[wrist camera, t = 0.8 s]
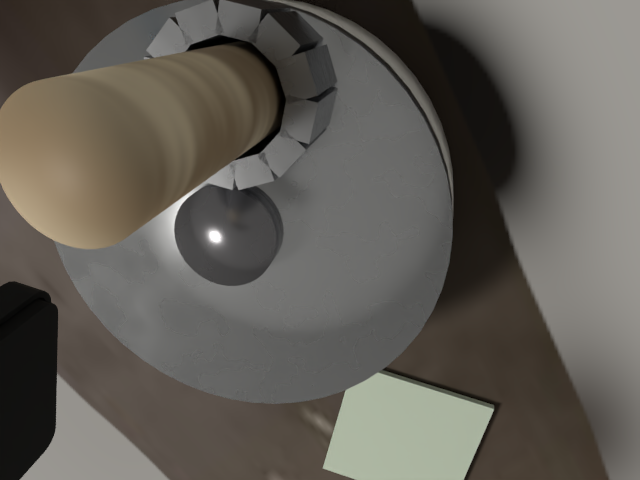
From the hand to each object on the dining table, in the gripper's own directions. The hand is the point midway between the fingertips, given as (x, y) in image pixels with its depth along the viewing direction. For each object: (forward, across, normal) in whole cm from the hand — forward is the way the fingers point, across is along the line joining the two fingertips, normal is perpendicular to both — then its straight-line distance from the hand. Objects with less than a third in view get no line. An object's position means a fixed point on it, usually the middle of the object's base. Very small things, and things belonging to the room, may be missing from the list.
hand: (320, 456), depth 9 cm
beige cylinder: (+19, +7, -1) cm, 20 cm away
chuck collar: (+20, +7, +6) cm, 22 cm away
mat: (+24, -5, +20) cm, 32 cm away
